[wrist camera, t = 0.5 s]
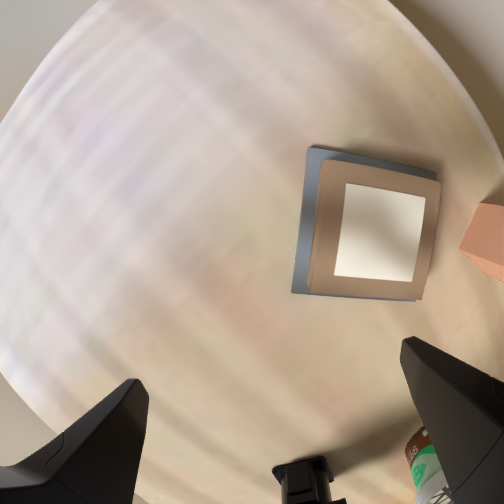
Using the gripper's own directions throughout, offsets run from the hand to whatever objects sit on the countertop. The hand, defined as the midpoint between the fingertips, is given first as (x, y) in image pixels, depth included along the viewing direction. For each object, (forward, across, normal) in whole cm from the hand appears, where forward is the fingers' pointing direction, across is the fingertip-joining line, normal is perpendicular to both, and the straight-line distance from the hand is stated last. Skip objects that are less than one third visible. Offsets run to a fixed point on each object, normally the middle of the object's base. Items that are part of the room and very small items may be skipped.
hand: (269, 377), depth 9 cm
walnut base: (+14, -8, +1) cm, 17 cm away
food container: (+10, -15, +30) cm, 35 cm away
